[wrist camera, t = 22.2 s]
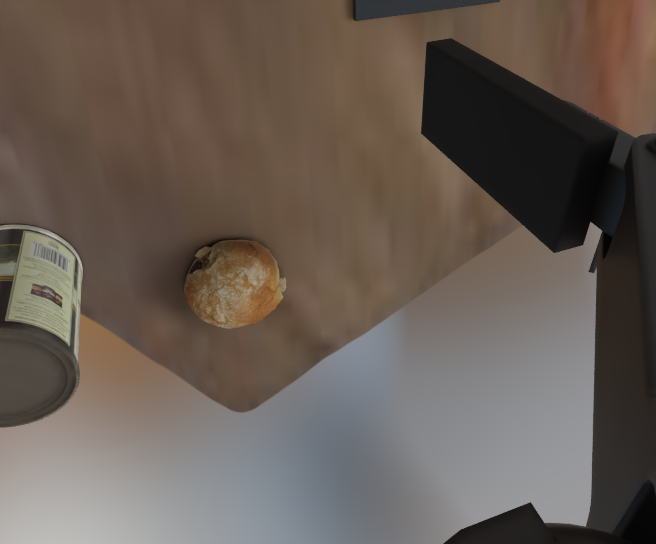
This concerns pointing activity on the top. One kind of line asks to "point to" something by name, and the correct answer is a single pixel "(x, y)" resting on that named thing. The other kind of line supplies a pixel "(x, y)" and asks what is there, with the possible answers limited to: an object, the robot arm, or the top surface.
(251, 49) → the top surface
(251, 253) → the bread roll
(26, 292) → the coffee can
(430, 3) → the mat
